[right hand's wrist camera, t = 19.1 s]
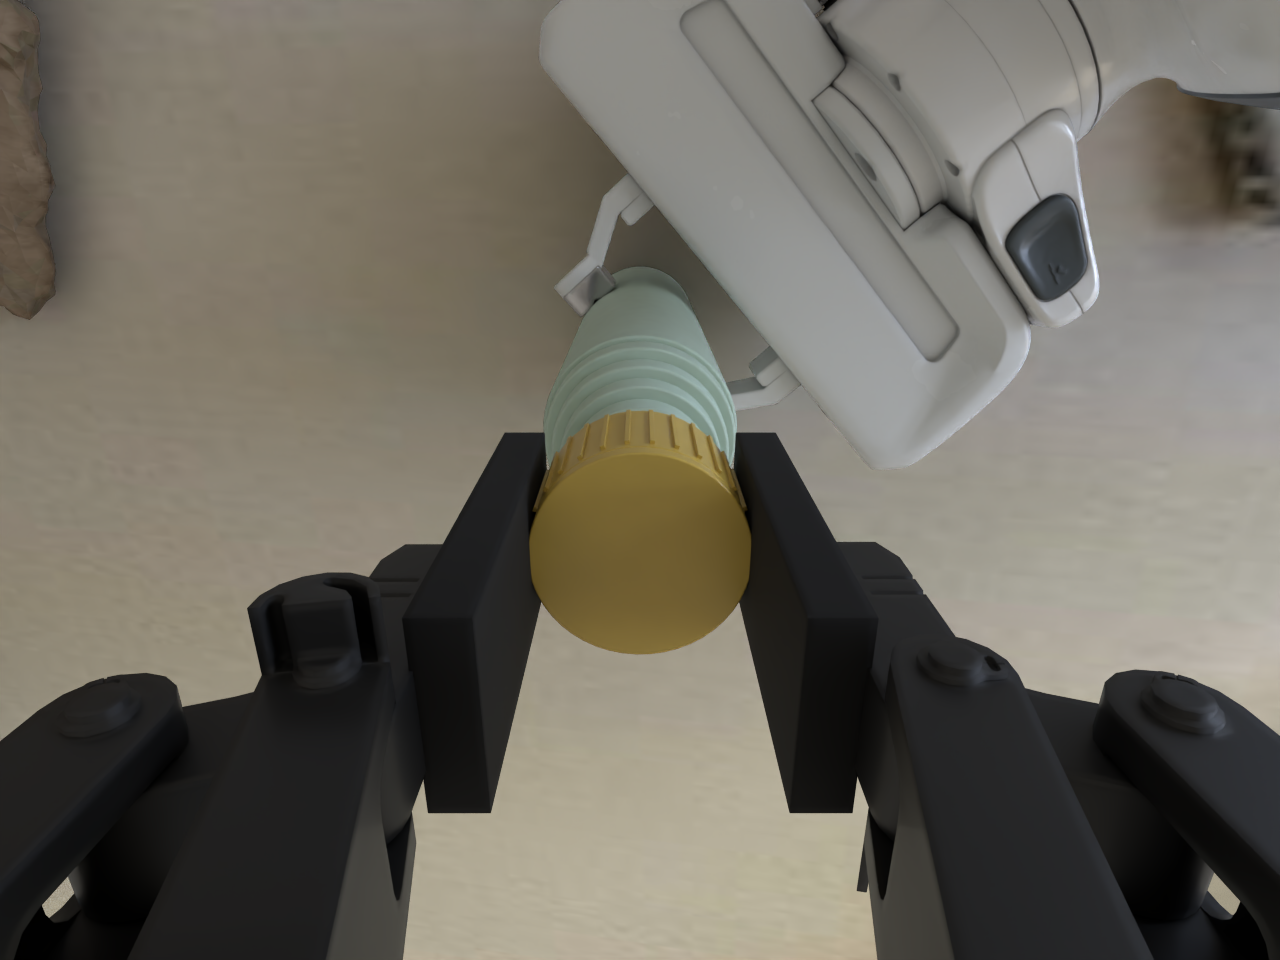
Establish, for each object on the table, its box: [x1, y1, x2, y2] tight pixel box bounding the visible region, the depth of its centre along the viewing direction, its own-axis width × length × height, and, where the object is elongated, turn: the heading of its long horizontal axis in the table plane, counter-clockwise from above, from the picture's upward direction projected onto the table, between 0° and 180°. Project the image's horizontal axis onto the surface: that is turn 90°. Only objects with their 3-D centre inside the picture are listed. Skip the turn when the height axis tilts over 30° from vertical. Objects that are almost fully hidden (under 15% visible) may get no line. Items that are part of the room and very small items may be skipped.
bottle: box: [543, 267, 737, 467], centre depth 23 cm, size 5×5×23 cm
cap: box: [529, 410, 751, 654], centre depth 13 cm, size 4×4×2 cm
